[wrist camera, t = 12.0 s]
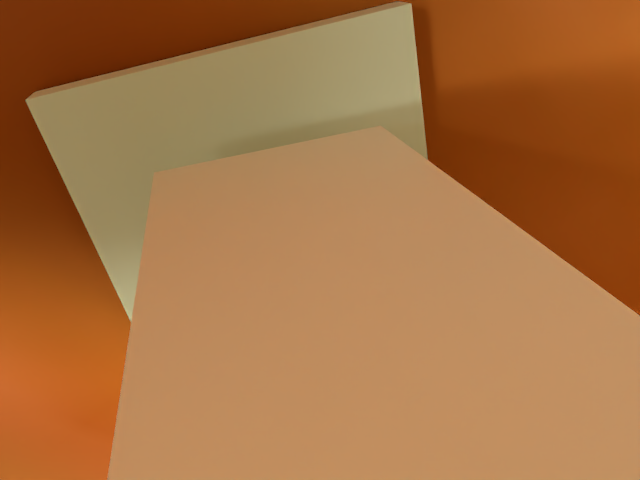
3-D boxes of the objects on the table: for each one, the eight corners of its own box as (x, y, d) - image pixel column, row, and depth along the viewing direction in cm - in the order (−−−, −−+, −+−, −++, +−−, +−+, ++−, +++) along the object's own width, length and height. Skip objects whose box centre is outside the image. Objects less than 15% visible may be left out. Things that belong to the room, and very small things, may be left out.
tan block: (241, 462, 14) (320, 1111, 6) (153, 172, 10) (47, 874, 2) (406, 415, 14) (679, 946, 6) (380, 125, 11) (941, 538, 3)
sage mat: (208, 465, 17) (209, 487, 16) (34, 91, 11) (25, 100, 10) (443, 386, 18) (453, 403, 17) (398, 1, 12) (411, 3, 11)
